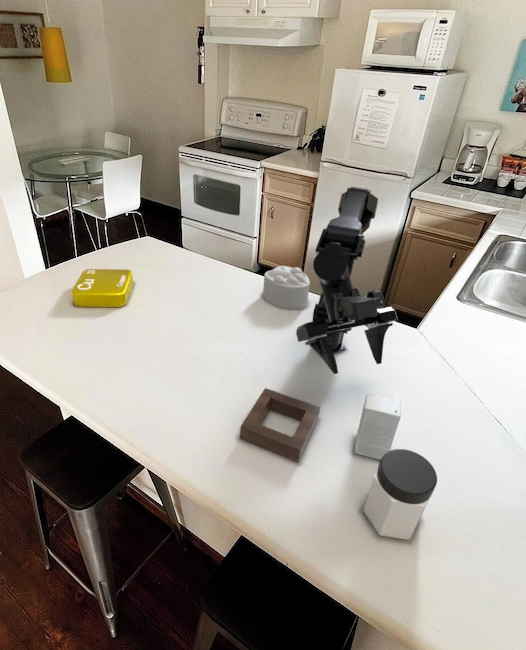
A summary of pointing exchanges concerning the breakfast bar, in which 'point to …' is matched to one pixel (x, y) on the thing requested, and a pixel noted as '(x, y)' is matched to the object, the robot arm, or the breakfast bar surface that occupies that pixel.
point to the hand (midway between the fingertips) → (357, 368)
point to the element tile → (103, 288)
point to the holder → (274, 439)
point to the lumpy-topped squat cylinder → (286, 287)
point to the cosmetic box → (377, 426)
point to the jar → (400, 493)
